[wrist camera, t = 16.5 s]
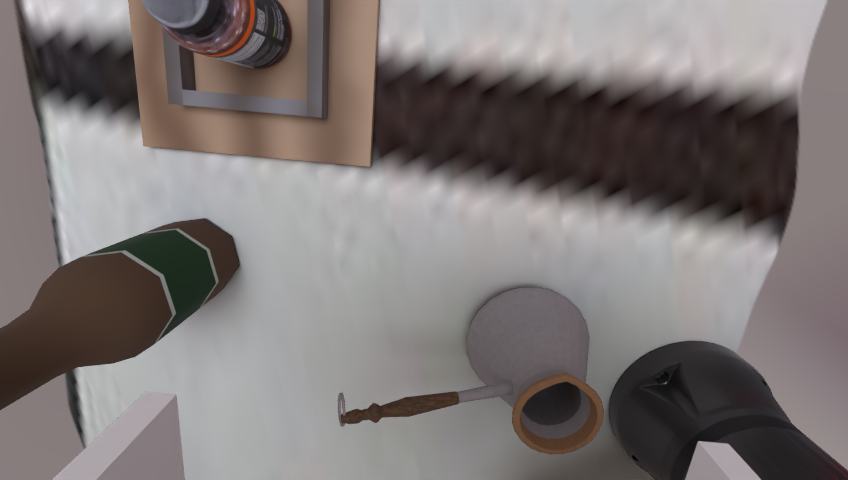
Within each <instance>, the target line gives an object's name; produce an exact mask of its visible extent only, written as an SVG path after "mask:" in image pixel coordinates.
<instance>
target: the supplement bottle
mask: <svg viewBox="0 0 848 480" xmlns="http://www.w3.org/2000/svg"><path fill="white" fill-rule="evenodd" d="M141 1H142V3H143V5H144V7H145V9H146V10H147V11H148V13H149V14H150V15H151V16H152V17H153V18H154V19H156V20H157V21H158V22H159V23H160V24H161V26H162V28H163V29H164V31H165V32H166V33H167V34H168V35H169V36H170V37H171V38H172V39H173V40H174V41H175V42H176V43H178V44H179V45H181V46H182V47H184V48H186V49H188V50H190V51H192V52H195V53H198V54H201V55H204V56H207V57H211V58H215V59H218V60H223V61H226V62H228V63H229V62H230V63H233V64H237V65H240V66H245V67H249V68H257V69H263V68H267V67H270V66H272V65H274V64H276V63H277V62H279V61H280V60H281V59H282V58H283V56H284V55H285V54H286V52H287V50H288V47H289V44H290V40H291V26H290V22H289V18H288V15H287V13H286V11H285V10H284V8H283V6H282V5H281V4H280V2H279V1H278V0H141Z"/></svg>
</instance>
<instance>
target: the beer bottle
mask: <svg viewBox="0 0 848 480" xmlns="http://www.w3.org/2000/svg"><path fill="white" fill-rule="evenodd" d="M238 266H239V262H238V258H237V254H236V251H235V247H234V243H233V240H232V236H230V235H229V234H227V233H226V232H224V231H223V230H221V229H220V228H218V227H217V226H216V225H214V224H213V223H211V222H210V221H208V220H207V219H205V218H204V219H196V220H189V221H181V222H174V223H171V224H167V225H164V226H161V227H158V228H156V229H153V230H150V231H148V232H145V233H143V234H140V235H137V236H135V237H132V238H129V239H127V240H124V241H122V242H119V243H116V244H114V245H111V246H109V247H106V248H103V249H101V250H98V251H95V252H93V253H90V254H88V255H85V256H82V257H80V258H78V259H76V260H74V261H72V262H70V263H68V264H66V265H64V266H62V267H60V268H58V269H57V270H56V271H55V272H54V273H53V274H52V275H51V276H50V277H49V278H48V279H47V280H46V281H45V282H44V283H43V284H42V286H41V288H40V290H39V292H38V294H37V296H36V298H35V300H34V301H33V303H32V305H31V307H30V309H29V310H27V311H26V312H25V313H23V314H22V315H20V316H19V317H18V318H16V319H15V320H13V321H12V322H11V323H9V324H8V325H6V326H4V327H2V328H1V329H0V410H1V409H3V408H5V407H6V406H8V405H10V404H11V403H13V402H15V401H16V400H18V399H20V398H21V397H23V396H25V395H27V394H28V393H30V392H31V391H33V390H35V389H37V388H38V387H40V386H41V385H43V384H45V383H47V382H48V381H50V380H52V379H54V378H55V377H57V376H59V375H61V374H64V373H66V372H68V371H70V370H72V369H75V368H77V367H83V366H93V365H102V364H111V363H116V362H119V361H122V360H126V359H129V358H132V357H135V356H137V355H139V354H140V353H142V352H143V351H145V350H146V349H148V348H149V347H151V346H152V345H154V344H155V343H156V342H158V341H159V340H160V339H161V338H163V337H164V336H165V335H166V334H168V333H169V332H170V331H172V330H173V329H174V328H175V327H177V326H178V325H179V324H180V323H182V322H183V321H184V320H185V319H187V318H188V317H189V316H190V315H192V314H193V313H194V312H195V311H197V310H198V309H199V308H200V307H202V306H203V305H204V304H206V303H207V302H208V301H209V300H211V299H212V298H213V297H214V296H216V295H217V294H218V293H219V292H220V291H221V290H222V289H223V288H224V287H225V285H226V284H227V283H228V281H229V280H230V278H231V277H232V275H233V274H234V272H235V271H236V269H237V268H238Z"/></svg>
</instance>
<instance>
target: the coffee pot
mask: <svg viewBox="0 0 848 480" xmlns="http://www.w3.org/2000/svg"><path fill="white" fill-rule="evenodd" d="M588 349H589V333H588V328H587V324H586V321H585V319H584V317H583V316H582V314H581V312H580V311H579V309H578V308H577V307H576V306H575V305H574V304H573V303H572V302H571V301H570V300H568V299H567V298H566V297H564V296H562V295H560V294H558V293H556V292H554V291H552V290H547V289H543V288H538V287H526V288H516V289H512V290H509V291H505V292H503V293H501V294H499V295H497V296H496V297H494V298H492V299H491V300H489V301H488V302H487V303H486V304H485V305H484V306H483V307H482V308H481V309H480V310H479V311H478V313H477V314H476V316H475V317H474V319H473V321H472V322H471V324H470V328H469V332H468V335H467V355H468V358H469V361H470V364H471V367H472V368H473V370H474V371H475V373H476V374H477V376H478V377H479V378H480V379H481V380H482V381H483V382H484V383H485V384H486V385H487V386H485V387H480V388H475V389H470V390H465V391H461V392H448V393H439V394H431V395H422V396H414V397H405V398H403V399H400V400H397V401H394V402H391V403H388V404H385V405H382V406H379V405H378V404H375V403H373V404H372V405H371V406H370V407H369V408H368V409H363V410H359V409H355V410H352V411H349V412H347V413H345V400H344V395H343V393H339V396H338V414H339V421H340V425H341V427H342V426H344V425H345V423H348V424H356V423H359V422H361V421H362V420H371V421H373V422H375V423H377V422H378V421H379V420H380V419H381V418H382V417H409V416H413V415H417V414H421V413H425V412H429V411H432V410H436V409H440V408H444V407H448V406H452V405H456V404H458V403H461V402H467V401H473V400H480V399H486V398H492V397H498V396H500V397H501V398H502V399H503V400H505V401H506V402H507V403H508V404H509V405H510V406H511V407H513V408H514V409H513V412H512V423H513V426H514V429H515V432H516V433H517V435H518V436H519V438H520V439H521V440H522V441H523V442H524V443H525V444H526V445H527V446H529V447H530V448H532V449H534V450H537V451H539V452H543V453H548V454H564V453H568V452H572V451H575V450H577V449H579V448H581V447H583V446H585V445H586V444H587V443H589V442H590V441H591V440H592V439H593V438H594V437H595V436H596V434H597V433H598V432H599V430H600V427H601V425H602V422H603V413H604V410H603V406H602V401H601V399H600V398H599V396H598V394H597V393H596V391H594V390H593V389H592V388H591V387H590V386H589V385H588V384H586V383H585V381H586V371H587V360H588ZM341 400H342V408H343V414H341Z"/></svg>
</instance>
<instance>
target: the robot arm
mask: <svg viewBox="0 0 848 480" xmlns="http://www.w3.org/2000/svg"><path fill="white" fill-rule="evenodd" d="M609 417H610V423H611V426H612V429H613V431H614V433H615V435H616V437H617V438H618V440H619V442H620V444H621V445H622V447H623V449H624V450H625V452H626V453H627V454H628V456H629V457H630V458H631V459H632V460H633V461H634V462H635V463H636V464H637V465H639V466H640V467H641V468H642V469H644V470H645V471H647V472H648V473H649V474H650V475H651V476H652V477H653V478H654V479H655V480H848V471H847V469H845V468H844V467H843V466H841V465H840V464H839V463H838V462H837V461H836V460H834V459H833V458H832V457H831V456H830V455H828V454H827V453H826V452H825V451H823V450H822V449H821V448H820V447H819V446H817V445H816V444H815V443H814V442H813V441H812V440H810V439H809V438H808V437H806V435H804V434H803V433H802V432H801V431H800V430H798V429H797V428H796V427H795V426H794V425H793V424H792V423H791V422H790V420H789V418H788V417H787V415H786V414H785V413H784V411H783V410H782V408H781V407H780V406H779V404H778V403H777V401H776V400H775V398H774V397H773V395H772V392H771V390H770V388H769V386H768V384H767V383H766V381H765V379H764V378H763V377H762V376H761V374H760V373H759V372H758V371H757V370H756V369H755V368H754V367H753V366H751V365H750V364H749V363H748V362H746V361H745V360H744V359H742V358H741V357H740V356H738V355H737V354H736V353H734V352H733V351H731V350H729V349H727V348H725V347H723V346H720V345H717V344H713V343H708V342H698V341H690V342H680V343H675V344H671V345H667V346H664V347H661V348H659V349H656V350H654V351H652V352H650V353H649V354H647V355H645V356H644V357H642V358H641V359H639V360H638V361H636V362H635V363H634V364H633V365H632V366H631V367H630V368H629V369H628V370H627V371H626V372H625V373H624V374H623V376H622V377H621V378H620V380H619V381H618V383H617V385H616V387H615V389H614V391H613V393H612V397H611V400H610V406H609ZM52 480H185V477H184V466H183V456H182V446H181V436H180V426H179V416H178V405H177V395H176V394H165V393H154V392H145V393H144V394H143V395H142V396H141V397H140V398H139V399H138V400H137V401H136V402H134V403H133V404H132V405H131V406H130V407H129V408H128V409H127V410H126V411H125V412H124V413H123V414H122V415H121V416H120V417H118V418H117V419H116V420H115V421H114V422H113V423H112V424H111V425H110V426H109V427H108V428H107V429H106V430H105V431H104V432H102V433H101V434H100V435H99V436H98V437H97V438H96V439H95V440H94V441H93V442H92V443H91V444H90V445H89V446H88V447H87V448H85V449H84V450H83V451H82V452H81V453H80V454H79V455H78V456H77V457H76V458H75V459H74V460H73V461H72V462H71V463H69V464H68V465H67V466H66V467H65V468H64V469H63V470H62V471H61V472H60V473H59V474H58V475H57V476H56V477H55V478H54V479H52Z"/></svg>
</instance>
